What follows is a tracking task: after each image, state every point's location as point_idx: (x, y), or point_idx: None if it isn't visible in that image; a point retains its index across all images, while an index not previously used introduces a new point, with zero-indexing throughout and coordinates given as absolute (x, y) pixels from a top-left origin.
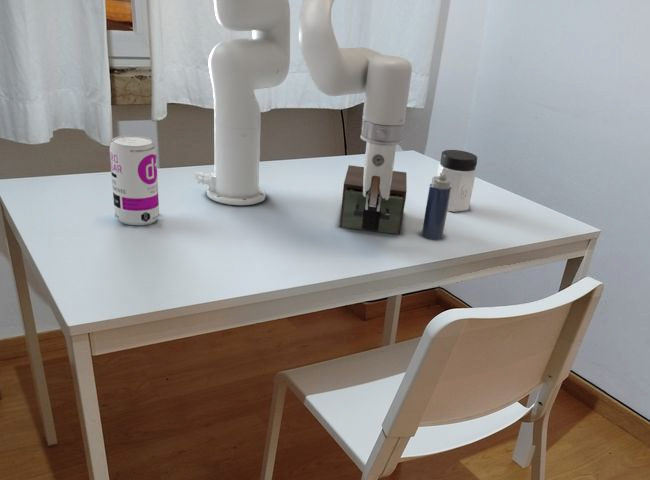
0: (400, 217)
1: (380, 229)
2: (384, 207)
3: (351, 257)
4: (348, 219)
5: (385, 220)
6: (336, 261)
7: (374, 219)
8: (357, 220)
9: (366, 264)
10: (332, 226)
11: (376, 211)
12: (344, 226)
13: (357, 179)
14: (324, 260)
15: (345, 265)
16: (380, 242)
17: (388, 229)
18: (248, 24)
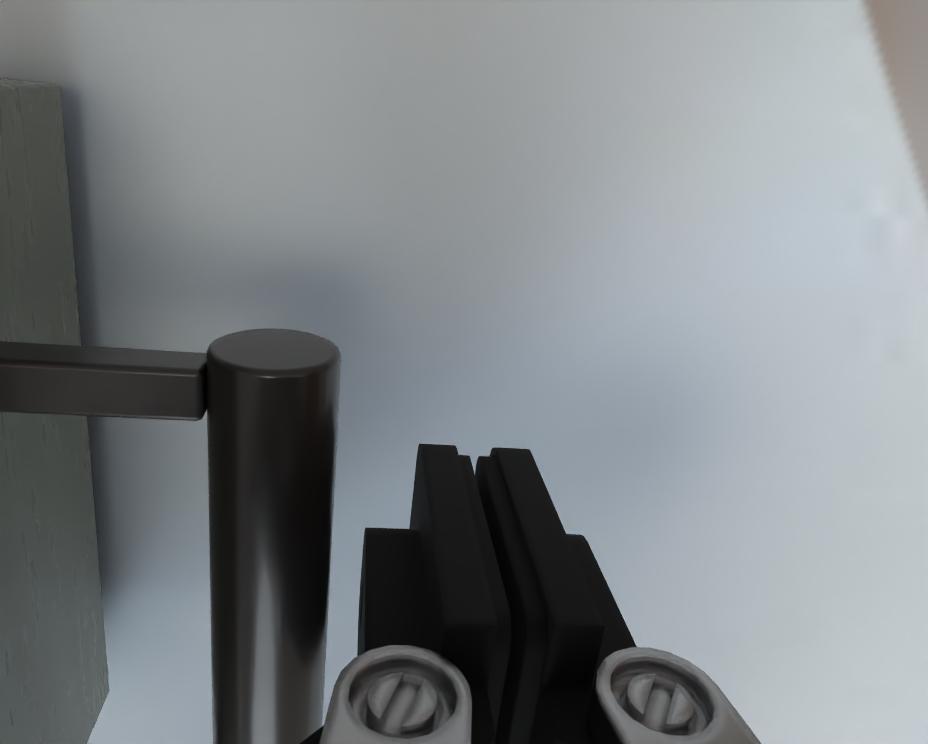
0: None
1: (71, 328)
2: None
3: (717, 552)
4: (74, 713)
5: (6, 321)
6: (797, 645)
7: (612, 607)
8: (63, 630)
9: (852, 439)
10: None
11: (591, 679)
12: (106, 675)
13: None
14: (782, 714)
15: (867, 585)
16: (300, 300)
17: (56, 229)
18: None
